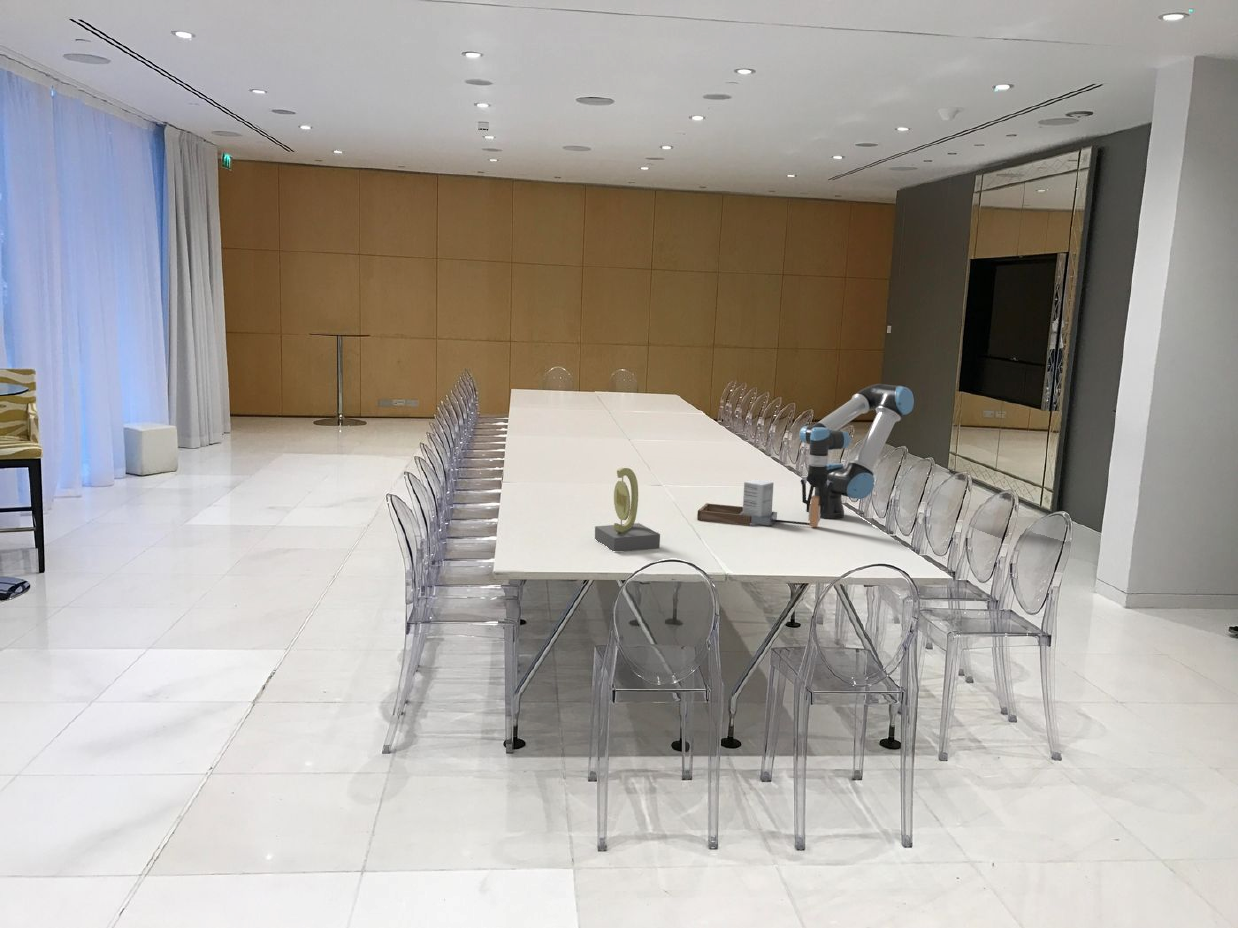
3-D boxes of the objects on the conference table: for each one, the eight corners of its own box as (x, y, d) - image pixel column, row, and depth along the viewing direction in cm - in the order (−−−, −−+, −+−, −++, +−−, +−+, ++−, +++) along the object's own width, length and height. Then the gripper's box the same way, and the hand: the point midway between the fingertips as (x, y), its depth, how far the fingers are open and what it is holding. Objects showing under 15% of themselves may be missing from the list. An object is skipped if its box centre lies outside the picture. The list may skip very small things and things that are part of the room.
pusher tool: (743, 515, 431) (745, 487, 429) (819, 523, 422) (821, 494, 420) (738, 522, 419) (739, 493, 417) (815, 530, 409) (817, 500, 407)
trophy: (594, 540, 384) (596, 463, 379) (638, 536, 392) (641, 461, 386) (614, 552, 367) (616, 472, 362) (659, 548, 375) (662, 470, 370)
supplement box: (753, 517, 430) (755, 479, 427) (771, 521, 424) (774, 482, 421) (741, 520, 422) (743, 481, 420) (760, 524, 417) (762, 484, 414)
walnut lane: (705, 512, 438) (706, 503, 437) (756, 517, 432) (757, 508, 431) (697, 520, 422) (697, 510, 422) (749, 525, 416) (750, 516, 415)
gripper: (797, 464, 411) (793, 520, 415) (836, 468, 406) (832, 524, 410) (799, 461, 418) (796, 516, 422) (838, 465, 413) (834, 520, 417)
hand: (814, 520), depth 416 cm, fingers closed on pusher tool, 3 cm apart
